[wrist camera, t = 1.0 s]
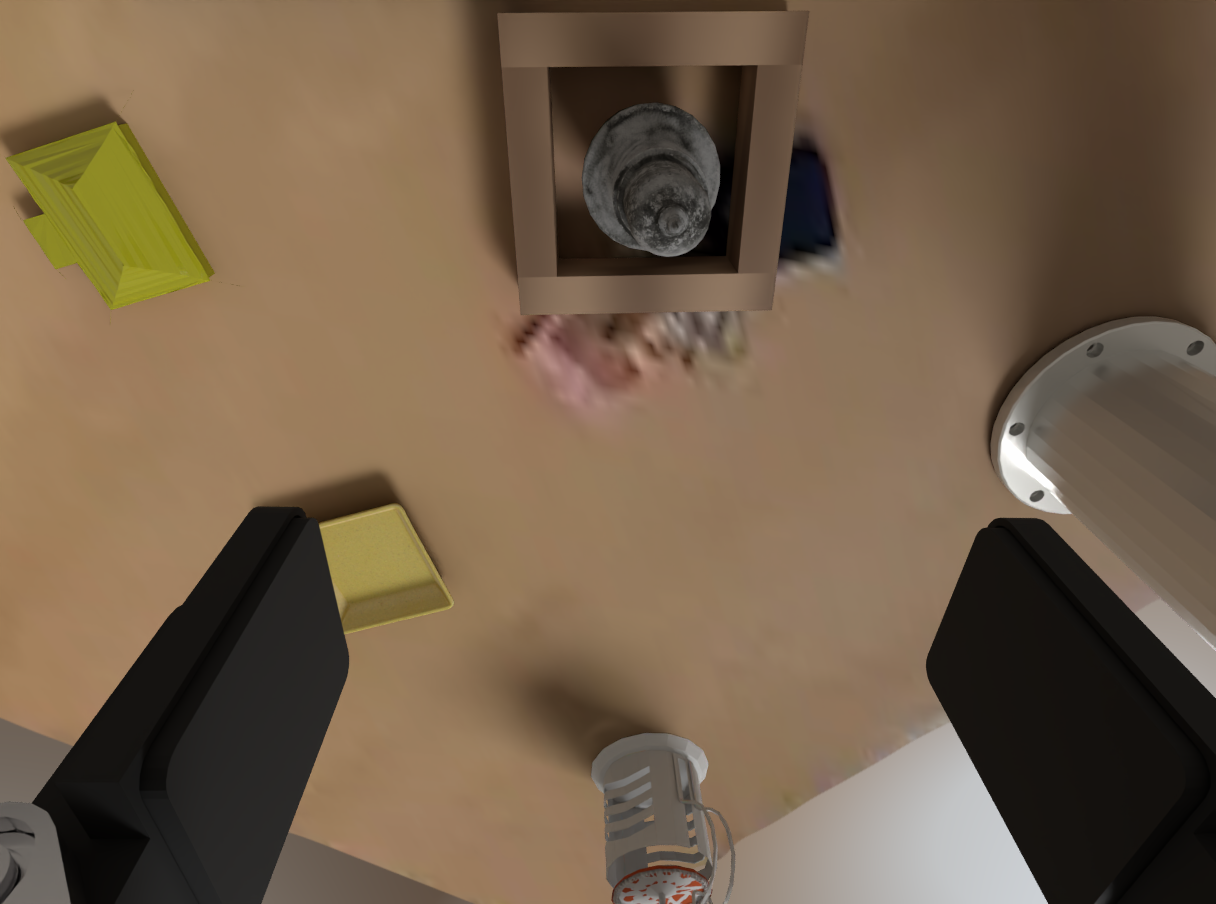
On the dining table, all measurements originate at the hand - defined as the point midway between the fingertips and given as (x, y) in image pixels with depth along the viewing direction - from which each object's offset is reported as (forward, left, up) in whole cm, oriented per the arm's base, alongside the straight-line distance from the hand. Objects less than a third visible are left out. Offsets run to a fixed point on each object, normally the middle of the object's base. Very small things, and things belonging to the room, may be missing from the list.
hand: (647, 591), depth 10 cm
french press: (-4, +44, -27) cm, 52 cm away
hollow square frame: (-2, -2, -27) cm, 27 cm away
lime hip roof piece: (+23, 0, -28) cm, 36 cm away
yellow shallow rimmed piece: (+15, +21, -27) cm, 37 cm away
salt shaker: (-2, -2, -27) cm, 27 cm away
